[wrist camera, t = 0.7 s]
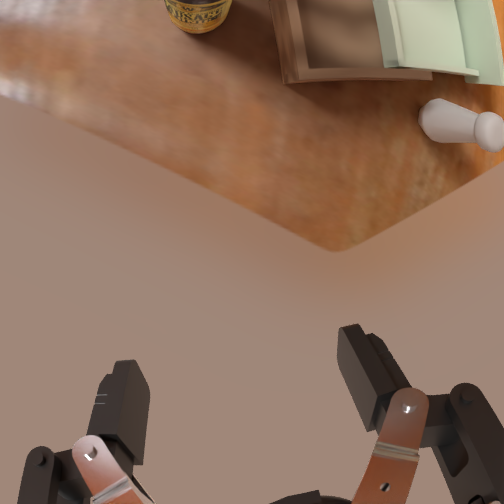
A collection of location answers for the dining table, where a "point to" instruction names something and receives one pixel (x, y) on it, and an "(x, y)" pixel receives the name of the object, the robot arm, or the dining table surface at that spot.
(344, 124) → the dining table surface
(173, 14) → the sauce bottle
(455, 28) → the drawer
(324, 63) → the cabinet
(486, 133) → the salt shaker
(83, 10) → the dining table surface
